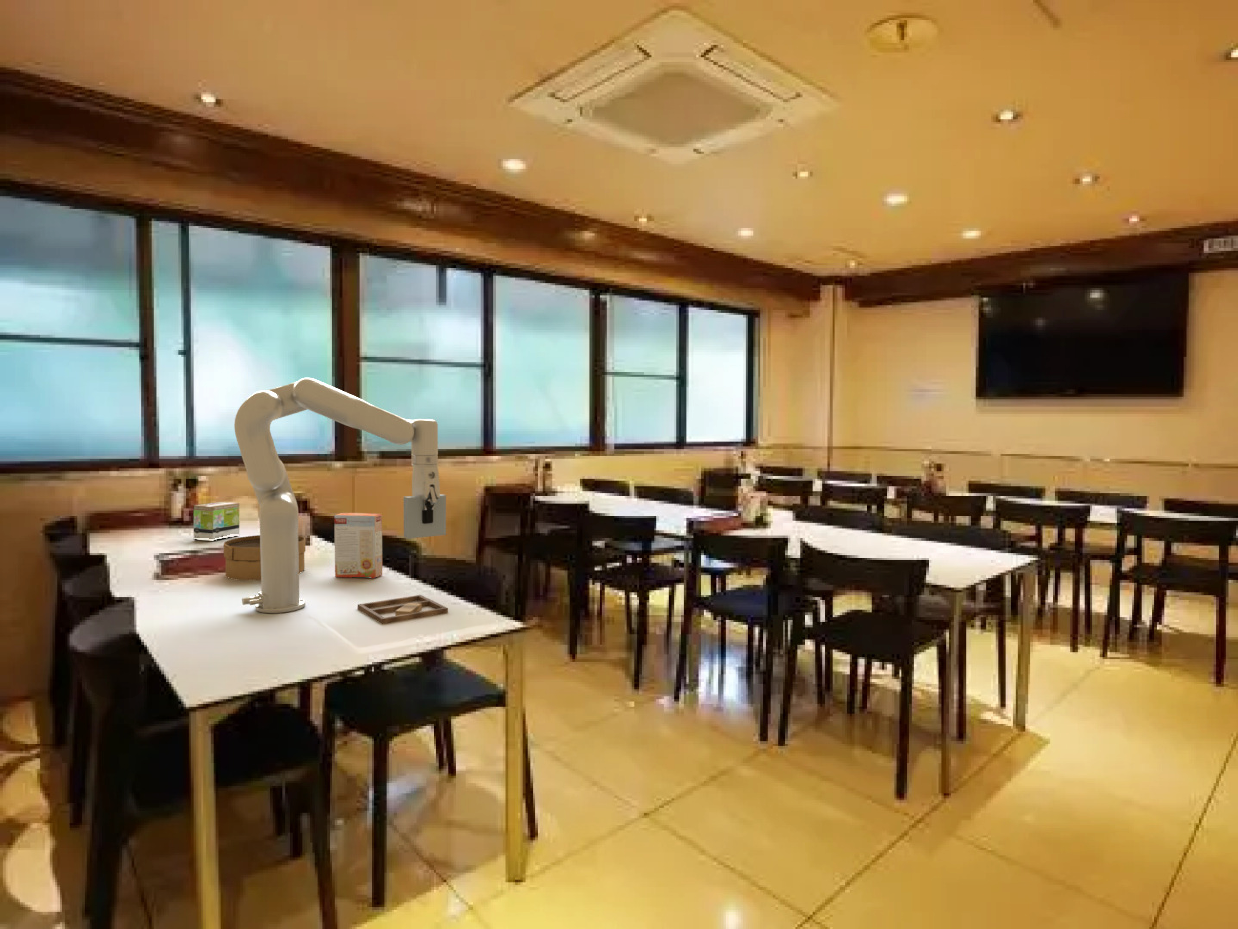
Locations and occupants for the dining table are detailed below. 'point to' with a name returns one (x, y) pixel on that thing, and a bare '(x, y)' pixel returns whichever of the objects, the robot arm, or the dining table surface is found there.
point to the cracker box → (358, 545)
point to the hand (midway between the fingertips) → (425, 521)
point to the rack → (423, 600)
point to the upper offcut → (409, 609)
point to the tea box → (216, 520)
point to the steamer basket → (250, 557)
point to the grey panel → (414, 518)
